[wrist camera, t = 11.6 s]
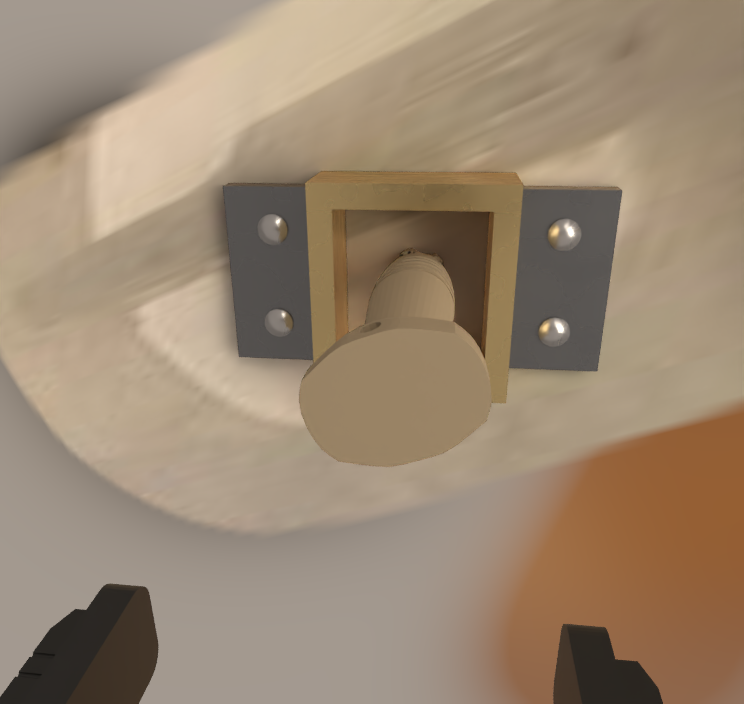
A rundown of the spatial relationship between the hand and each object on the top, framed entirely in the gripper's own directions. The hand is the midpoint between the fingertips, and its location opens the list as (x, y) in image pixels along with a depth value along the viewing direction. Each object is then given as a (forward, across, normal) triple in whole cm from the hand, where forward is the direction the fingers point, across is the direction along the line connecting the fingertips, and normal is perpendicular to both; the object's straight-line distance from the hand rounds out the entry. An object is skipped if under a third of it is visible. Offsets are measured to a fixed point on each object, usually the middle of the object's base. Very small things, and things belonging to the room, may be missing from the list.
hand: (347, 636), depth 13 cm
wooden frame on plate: (+25, 0, 0) cm, 25 cm away
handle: (+25, 0, 0) cm, 25 cm away
